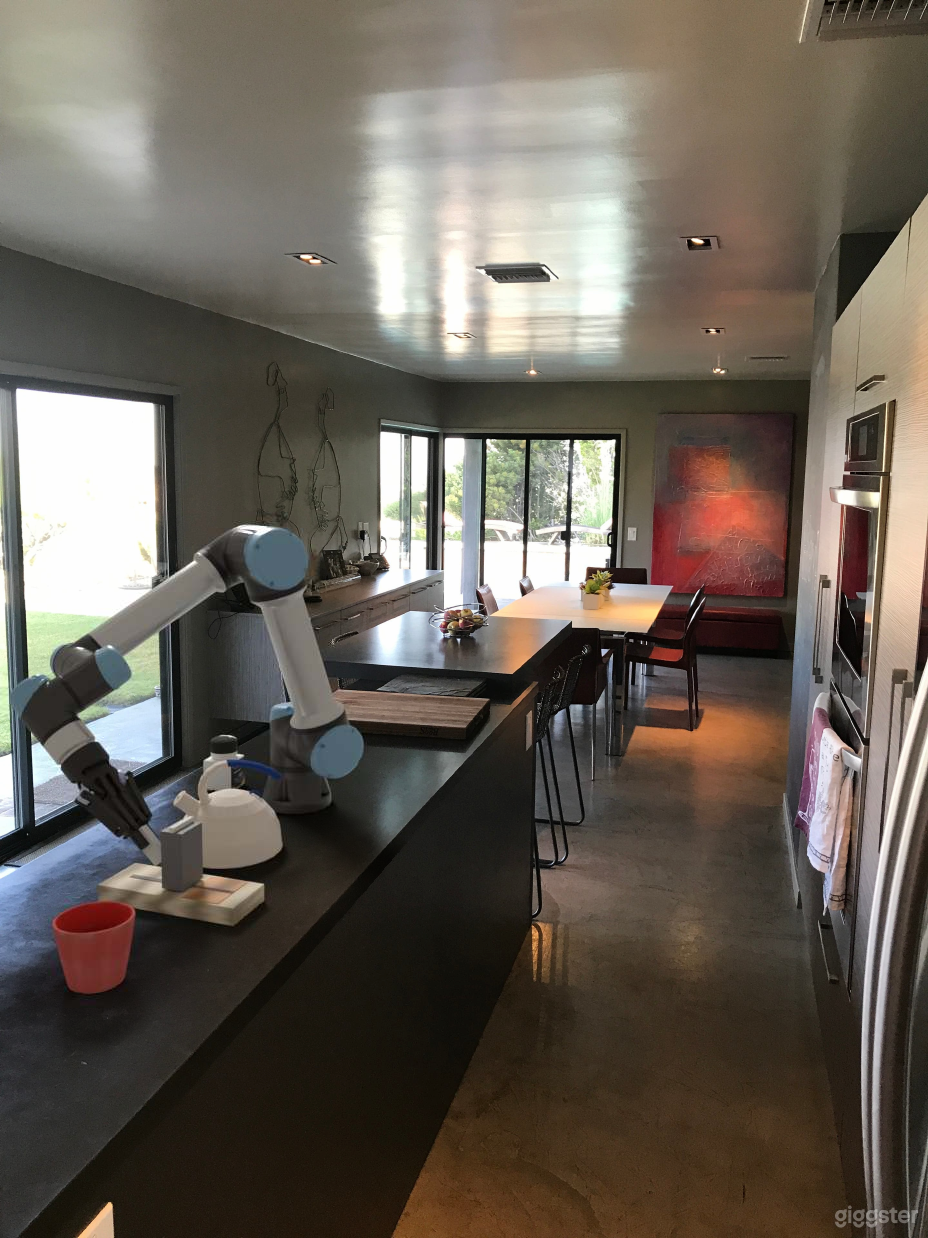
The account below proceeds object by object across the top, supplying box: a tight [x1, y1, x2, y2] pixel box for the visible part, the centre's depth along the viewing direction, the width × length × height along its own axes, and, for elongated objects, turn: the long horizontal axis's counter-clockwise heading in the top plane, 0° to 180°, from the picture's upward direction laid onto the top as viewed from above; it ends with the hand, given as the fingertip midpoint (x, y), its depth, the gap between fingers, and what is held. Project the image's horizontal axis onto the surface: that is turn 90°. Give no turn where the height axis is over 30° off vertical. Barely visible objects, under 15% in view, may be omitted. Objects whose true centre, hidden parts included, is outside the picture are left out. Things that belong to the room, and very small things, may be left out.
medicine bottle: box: [202, 734, 246, 792], centre depth 220 cm, size 7×7×12 cm
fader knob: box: [160, 816, 204, 892], centre depth 159 cm, size 4×6×11 cm, turn 163°
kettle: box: [173, 759, 283, 870], centre depth 183 cm, size 20×21×18 cm
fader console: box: [97, 862, 265, 927], centre depth 160 cm, size 26×10×3 cm, turn 73°
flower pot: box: [51, 901, 136, 995], centre depth 134 cm, size 11×11×10 cm
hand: (162, 860), depth 159 cm, fingers closed
